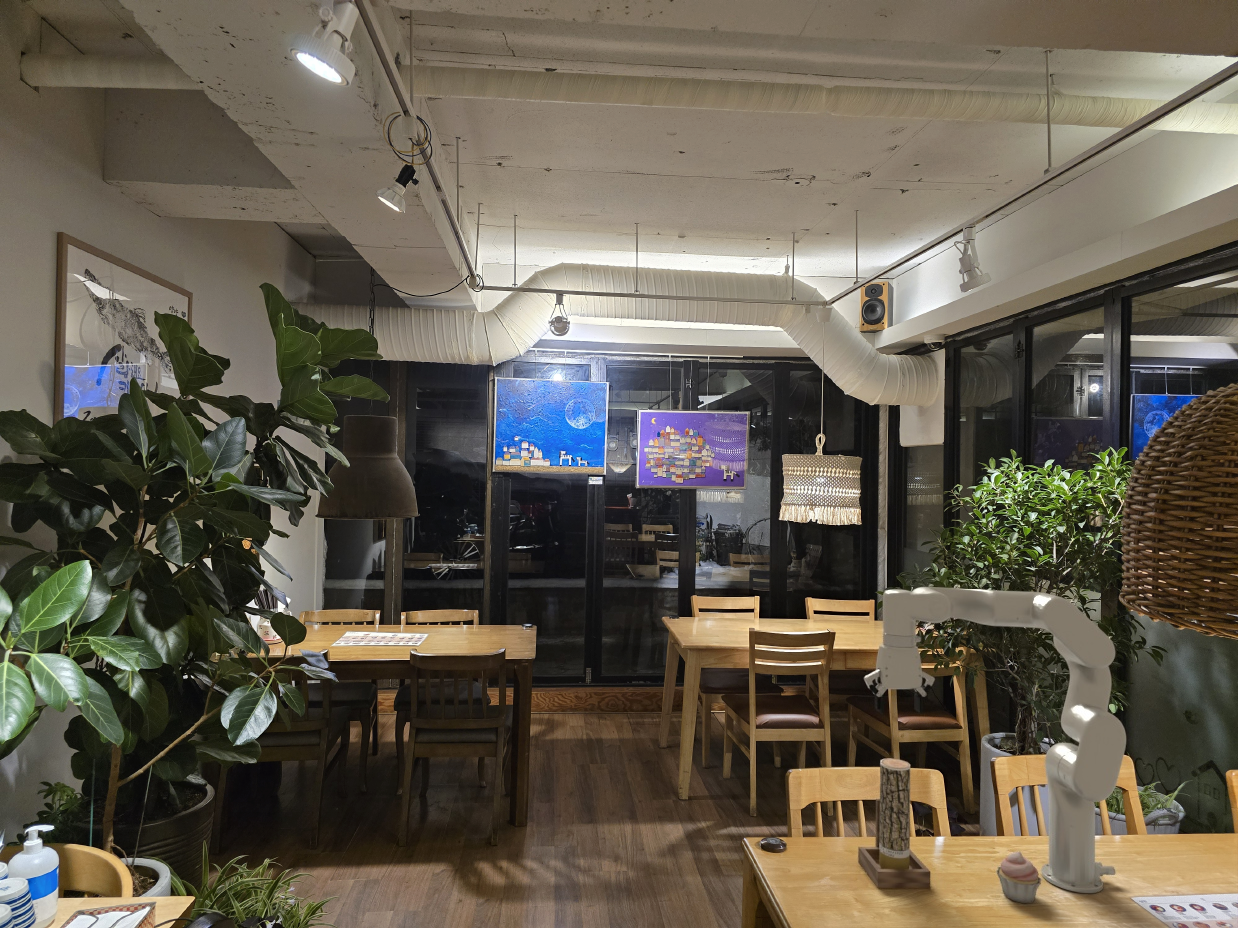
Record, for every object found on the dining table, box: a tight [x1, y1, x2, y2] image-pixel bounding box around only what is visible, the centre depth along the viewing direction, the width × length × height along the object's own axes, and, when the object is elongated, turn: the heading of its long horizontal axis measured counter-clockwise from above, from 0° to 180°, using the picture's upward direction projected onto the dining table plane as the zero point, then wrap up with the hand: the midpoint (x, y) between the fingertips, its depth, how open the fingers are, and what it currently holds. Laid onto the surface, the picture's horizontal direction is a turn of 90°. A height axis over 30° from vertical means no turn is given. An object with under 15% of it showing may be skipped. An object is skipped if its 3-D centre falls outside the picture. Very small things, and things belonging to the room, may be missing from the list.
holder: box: [857, 798, 931, 889], centre depth 183 cm, size 12×13×15 cm
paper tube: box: [879, 758, 911, 869], centre depth 183 cm, size 7×7×25 cm
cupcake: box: [995, 850, 1043, 904], centre depth 173 cm, size 9×9×10 cm
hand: (899, 711), depth 185 cm, fingers open, 9 cm apart
